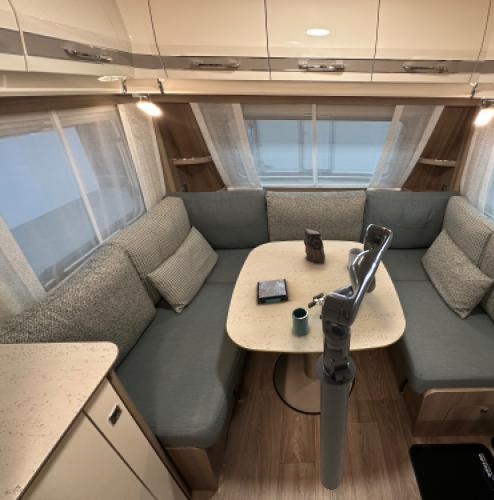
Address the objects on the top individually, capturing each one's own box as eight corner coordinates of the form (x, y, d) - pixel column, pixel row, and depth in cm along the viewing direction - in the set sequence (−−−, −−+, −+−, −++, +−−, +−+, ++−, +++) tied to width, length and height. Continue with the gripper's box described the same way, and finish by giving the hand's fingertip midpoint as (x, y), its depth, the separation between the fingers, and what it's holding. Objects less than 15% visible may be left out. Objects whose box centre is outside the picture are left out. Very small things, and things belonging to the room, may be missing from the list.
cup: (309, 334, 114) (309, 317, 109) (294, 337, 113) (293, 319, 108) (307, 323, 120) (306, 306, 114) (292, 325, 119) (291, 308, 113)
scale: (288, 301, 133) (288, 296, 131) (257, 305, 130) (257, 300, 129) (285, 282, 146) (285, 277, 144) (257, 285, 143) (257, 280, 142)
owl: (324, 264, 160) (324, 235, 150) (303, 264, 160) (302, 235, 150) (324, 253, 171) (324, 225, 161) (304, 253, 171) (303, 225, 161)
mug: (346, 264, 161) (346, 248, 155) (359, 262, 162) (360, 247, 156) (351, 275, 150) (353, 259, 145) (366, 274, 152) (368, 257, 146)
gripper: (331, 283, 129) (304, 297, 120) (352, 298, 119) (324, 314, 110) (331, 295, 132) (304, 309, 124) (351, 311, 123) (324, 327, 114)
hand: (314, 312), depth 117 cm, fingers open, 8 cm apart
